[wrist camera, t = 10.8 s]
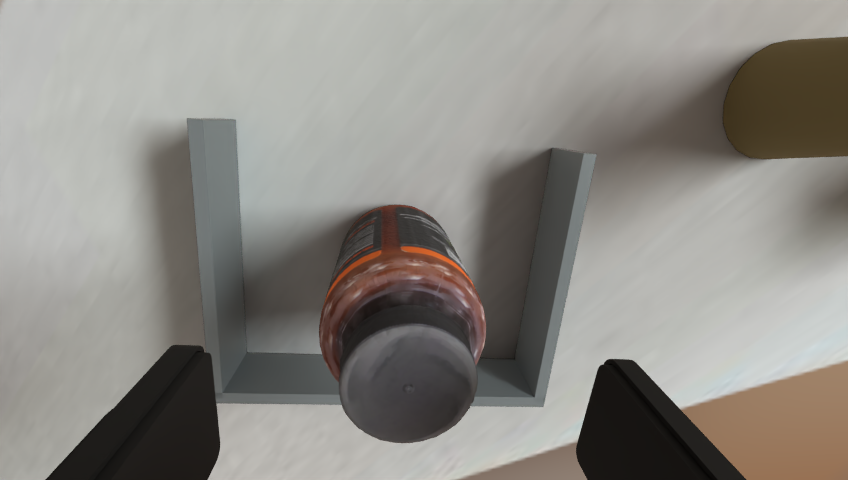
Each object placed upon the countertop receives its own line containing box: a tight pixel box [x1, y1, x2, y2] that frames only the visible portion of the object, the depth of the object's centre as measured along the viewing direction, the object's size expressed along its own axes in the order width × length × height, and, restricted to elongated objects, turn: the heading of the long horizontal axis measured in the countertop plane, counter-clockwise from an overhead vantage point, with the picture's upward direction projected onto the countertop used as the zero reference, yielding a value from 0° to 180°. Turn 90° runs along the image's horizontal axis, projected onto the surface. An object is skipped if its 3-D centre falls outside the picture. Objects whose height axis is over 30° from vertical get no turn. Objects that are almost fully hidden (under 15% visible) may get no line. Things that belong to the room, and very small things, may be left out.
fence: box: [187, 118, 597, 407], centre depth 20 cm, size 14×17×4 cm
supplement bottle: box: [319, 205, 486, 443], centre depth 16 cm, size 6×6×11 cm
